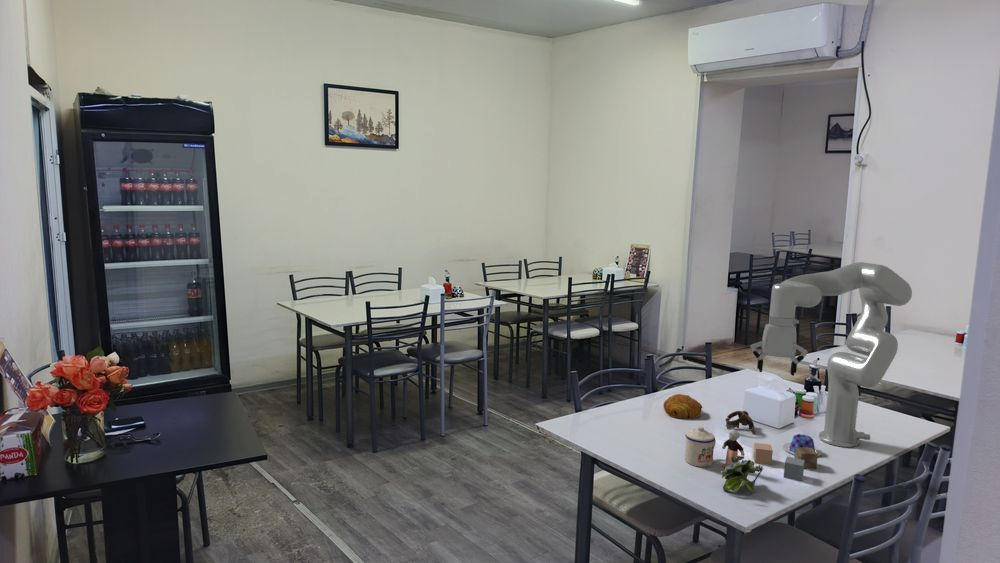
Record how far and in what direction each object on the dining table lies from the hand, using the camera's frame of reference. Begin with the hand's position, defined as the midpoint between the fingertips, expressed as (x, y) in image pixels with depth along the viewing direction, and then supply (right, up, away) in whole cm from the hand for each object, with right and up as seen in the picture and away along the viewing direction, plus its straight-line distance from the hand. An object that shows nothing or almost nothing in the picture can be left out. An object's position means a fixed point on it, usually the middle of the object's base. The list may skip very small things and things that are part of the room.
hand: (776, 372), depth 210 cm
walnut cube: (+7, -29, -5) cm, 30 cm away
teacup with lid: (-25, -28, -3) cm, 38 cm away
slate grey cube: (0, -30, -13) cm, 33 cm away
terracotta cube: (-6, -28, -2) cm, 29 cm away
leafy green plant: (-20, -31, -22) cm, 43 cm away
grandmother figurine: (-18, -29, -8) cm, 35 cm away
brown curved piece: (-2, -25, +24) cm, 35 cm away
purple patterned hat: (+11, -28, +6) cm, 31 cm away
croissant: (-19, -22, +41) cm, 50 cm away
